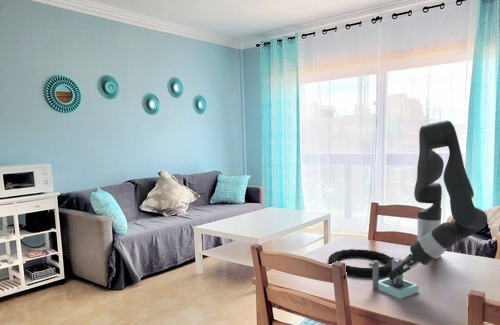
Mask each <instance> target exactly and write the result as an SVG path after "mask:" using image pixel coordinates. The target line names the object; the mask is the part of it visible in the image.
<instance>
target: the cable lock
mask: <svg viewBox="0 0 500 325" xmlns="http://www.w3.org/2000/svg"><path fill="white" fill-rule="evenodd" d="M348 258H364V259H371V260H376V261H380V262H381V263H384V264H385V265H383V266H379V277H385V276H387V275H388V274H389V273H390V272H391V271H392V259H396V258H395V257H391V256H389V255H387V254H386V253H383V252H379V251H376V250H370V249H356V248H355V249H354V248H351V249H349V248H348V249H342V250H338V251H335V252H333V253H331V254H330V256H328V258H327V263H328V265H329V264H332V263H334V262H336V261H339V260H343V259H348ZM345 265H346V264H345ZM346 272H347V275H346V276H354V277H359V278H373V267H359V266H351V265H348V264H347V265H346Z"/></svg>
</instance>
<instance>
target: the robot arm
mask: <svg viewBox="0 0 500 325" xmlns="http://www.w3.org/2000/svg"><path fill="white" fill-rule="evenodd" d="M418 132H419V134H418V138H419V139H418V142H419V143H418V144H419V145H418V146H419V154H418V155H419V156H418V162H417V167H416V168H417V170H416V171H417V174H416V181H415V186H414V192H413V193H414V194H413V195H414V199H415V201H416V202H417V203H419V204H432V205H431V206H429V207H427V208H424V209H420V210H419V211H418V212H417V241H415V242H413V244H411V245H410V247H409V249H410V253H409V254H408V255H407V256H405V257H404V258H403V259H402V260H403V261H402V262H400V263H399V266H398V267H396V268H395V269H394V270H393V271H391V272H390V273H389V274H388V275H386V276H387V278H390V280H393V279H394V278H395V277H397V276H398V275H399V276H400V275H401V274H404V273H407V272H409V271H410V270H411V269H413V268H415V267H416V266H418V264H422V265H424V266H427V265H428V264H430V263H431V262H433V261H435V260H437V259H440V258H441V256H442V255H443V254H444V253H445V252H446V251H447V250H448V249H450V248H452V247H453V246H455V245H456V244H457V243H458V242H459V241H461V240H465V239H466V238H468V237H470V236H473V235H474V234H477V233H479V232H480V231H481V230H482V229H484V228H485V227H486V225H487V223H488V216H487V213H486V212H485V211H484V210H482V209H481V208H478V207H475V205H474V202H473V198H474V196H475V194H474V190H473V187H472V184H471V181H470V179H469V177H468V175H467V172H466V168H465V165H464V164H465V163H464V160H463V156H462V152H461V151H462V150H461V146H460V142H459V138H458V134H457V131H456V128H455V126H454V124H453V122H451V121H450V120H440V121H435V122H431V123H430V122H429V123H426V124H423V125H421V126H420V128H419V131H418ZM444 147H445V148H446V147H448V150H449V151H448V152H449V153H448V154H449V156H448V159H447V163H446V165H445V162H444V160H443V157H441V156H440V154H438V153H437V152H436V151H434V149H440V148H444ZM444 165H445V166H444ZM442 175H443V183H444V185H445V188H446V191H447V194H448V196H449V204H450V212H451V213H450V214H451V216H452V218H453V221H450V222H443V223H442V222H441V221H442V220H441V216H442V215H441V212H442V207H441V206H442V196H443V190H442V188H443V187H442V185H441V184H440V183H439V182H437V181H438V180H439V179H440V178H441V177H442ZM402 263H403V264H402ZM399 269H400V270H399Z"/></svg>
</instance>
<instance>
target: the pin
mask: <svg viewBox="0 0 500 325" xmlns="http://www.w3.org/2000/svg"><path fill="white" fill-rule="evenodd" d="M402 261H403V259H401V258H395V259H392V271H393V270H394V269H395V268H396V267H398V266H399V263H400V262H402ZM402 264H403V263H402ZM399 270H400V269H399ZM403 274H404V273H403ZM403 274H401V275H400V276H399V275H398V276H397V277H395V278H394V279H393V280H392V284H390V286H391V287H393V288H396V289H398V290H401V289H404V285H403V279H404V275H403Z"/></svg>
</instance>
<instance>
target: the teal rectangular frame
mask: <svg viewBox="0 0 500 325" xmlns="http://www.w3.org/2000/svg"><path fill="white" fill-rule="evenodd" d="M368 266H369V267H370V268H373V277H372V290H374V291H380V292H382V293H385V294H388V295H390V296H391V297H394V298H397V299H400V300H401V299H403V298H406V297H409V296H412V295H415V294H417V293H419V284H417V283H415V282H412V281H409V280H405V279H404V278H403V285H404V289H401V290H398V289H396V288H393V287H391V286H390V284H392V280H390V278H389V277H387V278H383V279H381V280H379V279H380V278H379V277H380V276H379V267H380V262H379V260H375V259H373V260H372V262H368Z"/></svg>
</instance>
